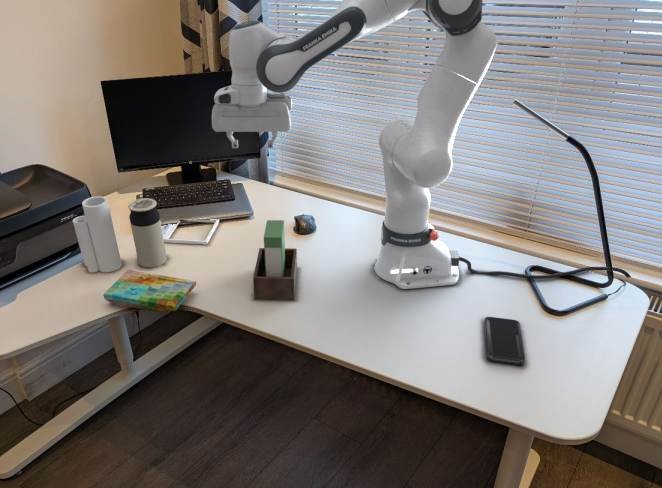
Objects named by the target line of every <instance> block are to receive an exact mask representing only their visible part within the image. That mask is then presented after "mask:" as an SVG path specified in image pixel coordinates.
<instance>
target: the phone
mask: <svg viewBox="0 0 662 488" xmlns="http://www.w3.org/2000/svg"><path fill="white" fill-rule="evenodd" d="M483 325H484V328H483V329H484V341H485V342H484V343H485V358H486V360H488V361H489V362H494V363H500V364H508V365H513V366H523V365H524V363H525V361H526V358H525V356H526V355H525V350H524V343H523V337H522V336H523V335H522V329H521V323H520V322H519V320H516V319H511V318H503V317H495V316H486V317H484V322H483Z"/></svg>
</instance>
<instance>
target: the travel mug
mask: <svg viewBox="0 0 662 488" xmlns="http://www.w3.org/2000/svg"><path fill="white" fill-rule="evenodd" d="M127 208H128V209H129V211H130V213H129V217H128V218H129V223H130V228H131V232H132V237H133V243H134V248H135V252H136V256H137V261H138V264H139V265H140V266H141V267H143V268H155V267H159V266H162V265H164V264H165V263H166V261H168V257H167V252H166V245H165V242H164V239H163V233H162V227H161V222H162V220H161V216H160V212H159V211H158V209H157V201H156V200H155V199H153V198H149V197H144V198H137V199H134V200H132V201H131V202H129V203H128V205H127Z"/></svg>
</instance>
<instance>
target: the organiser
mask: <svg viewBox="0 0 662 488" xmlns="http://www.w3.org/2000/svg"><path fill="white" fill-rule="evenodd" d="M285 269H286V274H285V277H266V271H265V252H264V247H259V249H258V252H257V259H256V263H255V267H254V273H253V277H252V281H253V282H252V283H253V297H254V300H255V301H257V300H259V301H295V298H296V297H295V296H296V286H297V285H296V284H297V276H298V275H297V274H298V248H292V247H291V248H289V247H288V248H286V247H285Z"/></svg>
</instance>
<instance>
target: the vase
mask: <svg viewBox="0 0 662 488" xmlns="http://www.w3.org/2000/svg"><path fill="white" fill-rule="evenodd" d="M81 205H82V210H83V213H84V215H80V216H76V217H74V218H73V219H72V224H73V227H74V231H75V234H76V235H75V236H76V239H77V242H78V246H79V250H80V253H81V257H82V261H83V264H84V266H85V267H87V271H88V272H89V273H93V274H94V273H98V272H101V273H112V272H116V271H117V270H119V269H120V268H121V267H122V265H123V264H122V259H121V254H120V250H119V246H118V241H117V236H116V232H115V228H114V223H113V219H112V215H111V209H110V205H109V201H108V198H107V197H105V196H103V195H101V196H100V195H96V196H91V197H88V198H86V199H83V200H82V202H81Z"/></svg>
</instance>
